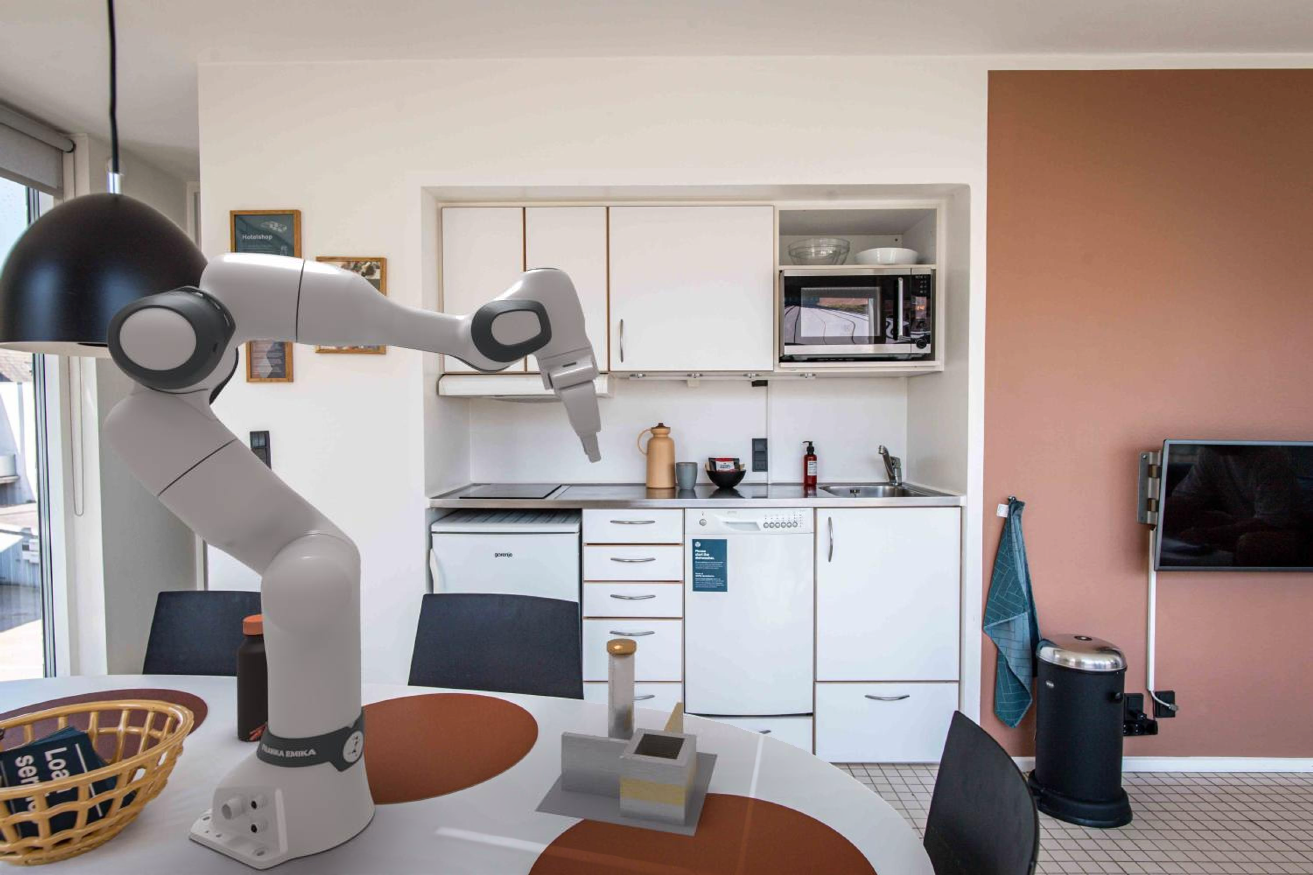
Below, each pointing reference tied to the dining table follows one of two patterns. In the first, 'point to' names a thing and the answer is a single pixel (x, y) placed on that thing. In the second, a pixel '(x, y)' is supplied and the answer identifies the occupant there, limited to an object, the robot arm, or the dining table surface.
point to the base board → (610, 807)
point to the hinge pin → (621, 688)
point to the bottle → (252, 680)
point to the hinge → (636, 770)
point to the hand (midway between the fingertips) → (593, 457)
